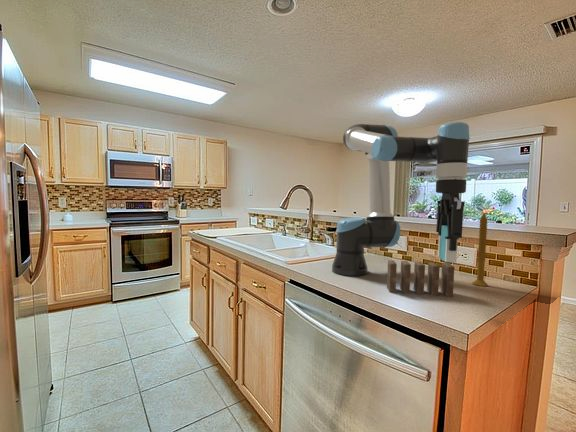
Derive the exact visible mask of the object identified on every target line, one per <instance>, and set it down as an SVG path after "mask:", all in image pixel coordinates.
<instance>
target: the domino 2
mask: <svg viewBox="0 0 576 432" xmlns="http://www.w3.org/2000/svg"><path fill="white" fill-rule="evenodd" d="M411 265H412V264H411V263H410V262H408V261H407V260H400V279H399V284H400V285H399V288H400V291H401V292H402V293H403V294H408V295H410V291H411V269H412V266H411Z"/></svg>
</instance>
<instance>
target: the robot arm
mask: <svg viewBox="0 0 576 432" xmlns="http://www.w3.org/2000/svg"><path fill="white" fill-rule="evenodd" d="M470 139H471V138H470V126H469V124H468V123H466V122H461V121H460V122H448V123H444V124H442V125H440V127H439V128H438V132H437V135H436V136H432V137H413V136H399V135H398V132H397V130H396V129H395V127H393V126H391V125H386V124H369V123H368V124H364V123H358V124H357V123H356V124H353V125H351V126H349V127H348V128H346V129H345V131H344V133H343V135H342V142H343V144H344V146H345V147H346V148H347V149H348V150H351V151H354V152H364V153H365V158H366V159H367V160H368V173H369V174H368V176H369V177H368V179H369V214H368V215H367V216H366V219H365V218H364V217H362V216H361V217H348V218H342V219H339V221H338V222H337V224H336V225H337V226H336V253H335V256H334V259H333V261H332V264H331V271H332V272H333V273H334V274H337V275H342V276H346V277H348V276H350V277H360V276H365V275H367V274H368V272H369V271H368V270H369V269H368V265H367V264H368V263H367V262H366V257H365V248H383V249H384V248H385V249H386V248H392V247H394V246H396V244H397V243H398V242H399V240H400V238H401V231H402V230H401V225H400V223H399V222H398V221H397V220H395V216H394V214H393V213H392V212H391V185H390V184H391V182H390V181H391V180H390V179H391V178H390V177H391V176H390V174H391V173H390V162H405V163H406V162H412V163H416V164H421V165H422V164H430V163H433V162H436V170H435V171H436V173H435V175H436V176H435V178H436V179H438V180H436V182H435V192H436V194H441V198H440V200H437V203H436V206H437V215H436V228H435V229H436V230H435V231H436V233H437V235H438V246H437V247H438V248H437V250H438V251H437V258H440V248H441V228H442V225H445V226H447V230H448V237H447V236H446V237H445V239H446V251H445V261H444V263H449V262H454V263H457V259H458V258H457V257H458V255H457V254H458V242H459V239H462V238H463V224H464V223H463V220H464V208H465V201H464V200H463V201H462V200H461V199H460V194H464V193H466V192H467V180H466V178H467V175H468V171H469V167H468V161H469V143H470Z"/></svg>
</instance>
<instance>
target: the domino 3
mask: <svg viewBox="0 0 576 432" xmlns="http://www.w3.org/2000/svg"><path fill="white" fill-rule="evenodd" d="M413 270H414V271H413V286H412V287H413V291H414V292H415V293H416V295H422V296H423V295H424V294H425V280H426V279H425V275H426V264H424V263H423V262H421V261H414V269H413Z"/></svg>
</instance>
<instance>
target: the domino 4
mask: <svg viewBox="0 0 576 432" xmlns="http://www.w3.org/2000/svg"><path fill="white" fill-rule="evenodd" d="M440 268H441V267H440V265H439V264H438V263H435V262H434V261H433V262H431V261H428V262H427V280H426V281H427V282H426V283H427V284H426V291H427V292H428V293H429V294H430V295H431V296H435V297H436V296H439V290H440V289H439V287H440V285H439V284H440Z"/></svg>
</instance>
